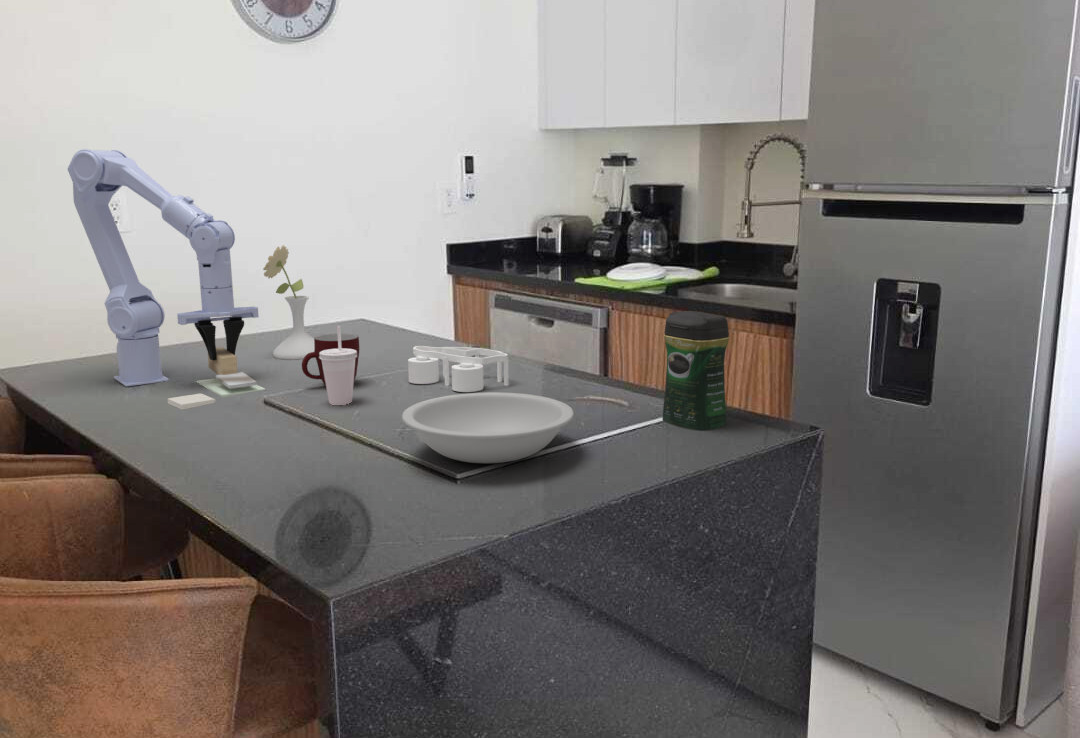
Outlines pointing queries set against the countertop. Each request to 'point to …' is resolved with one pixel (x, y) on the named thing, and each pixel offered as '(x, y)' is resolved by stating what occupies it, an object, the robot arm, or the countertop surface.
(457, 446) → the soup bowl
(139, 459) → the countertop surface
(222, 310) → the robot arm
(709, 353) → the coffee jar
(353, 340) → the mug
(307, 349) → the flower in vase
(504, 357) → the white rack with cylinders
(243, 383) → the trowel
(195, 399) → the tile
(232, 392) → the mat
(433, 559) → the countertop surface
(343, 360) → the smoothie
